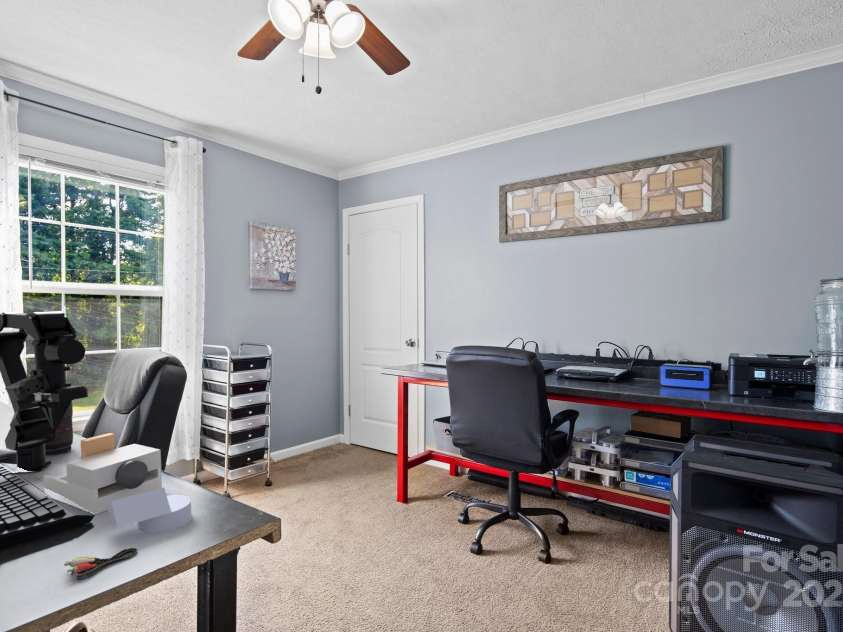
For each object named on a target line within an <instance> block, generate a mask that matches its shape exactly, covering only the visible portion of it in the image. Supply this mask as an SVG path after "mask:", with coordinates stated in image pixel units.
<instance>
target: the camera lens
mask: <svg viewBox="0 0 843 632" xmlns="http://www.w3.org/2000/svg"><path fill="white" fill-rule="evenodd" d="M73 407H74V406H73V401H72V402H71V403H70V405H69V407H68V409H67V411H66V413H65V415H64V417H63V419H62V421H61V423H60V425H59V427H58V428H56V432H55V438H54V442H48V443H45V455H46V457H47V456H49V457H51V456H57V455H61V454H65V453H67V452H70V451H71V450H72V446H73V443H74V442H73V441H74V430H73V429H74V428H73V414H74V412H73Z"/></svg>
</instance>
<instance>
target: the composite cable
mask: <svg viewBox="0 0 843 632" xmlns="http://www.w3.org/2000/svg"><path fill="white" fill-rule="evenodd" d="M137 554H138V549H137V547H129V548H125V549H122V550H121V551H119V552H117V553H115V555H113V556H112V557H108V558H100V557H93V556H92V557H89V556H80V557H75V558H73V559H72V560H70V561H66V562H65V563H64V564H63V566H64V567H67V566H70V569H67V570H66V572H67V573H71V575H76V580H77V581H81V580H85V579H87V578H89V577H91V576H93V575H95V574H96V573H98V572H100V571H101V570H103V569H105V568H107V567H109V566H112V565H114V564H117V563H120V562H123V561H126V560H129V559H132V558H133V557H134V556H136V555H137Z"/></svg>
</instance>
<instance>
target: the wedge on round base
mask: <svg viewBox="0 0 843 632" xmlns="http://www.w3.org/2000/svg"><path fill="white" fill-rule="evenodd" d="M107 512H108V514H109V515H110V517H111V519H112V521H113V522H114V523H113V524H114V525H115V526H116V528H117V529H120V528H123V527H126V526H129V525H133V524H135V523H137V529H138V530H139V532H140V533H145V534H160V533H167V532H171V531H173V530H176V529H179V528H181V527H183V526H184V524H185V525H186V524H188V523H189V522H190V521H191V519H192V517H191V516H192V499H191V497H190V496H188V495H185V494H171V495H170V494H169V495H167V492H166V490H165V487H162V488H160V489H156V490H152V491H148V492H144V493H141V494H137V495H133V496H129V497H125V498H121V499H117V500H113V501H111V504H110V507H109V509H108V510H107ZM190 518H191V519H190ZM189 520H190V521H189ZM188 521H189V522H188ZM187 522H188V523H187ZM182 525H183V526H182ZM178 527H179V528H178Z"/></svg>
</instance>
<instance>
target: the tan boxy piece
mask: <svg viewBox="0 0 843 632" xmlns="http://www.w3.org/2000/svg"><path fill="white" fill-rule="evenodd" d="M115 435H116V434H115V433H111V432H109V433H105V434H99V435H97V436H92V437H88V438H84V439H81V440H80V455H81V456H80V457H81V458H85V457H88V456H92V455H96V454H99V453H103V452H106V451H110V450H113V449H116V436H115ZM81 458H80V459H81ZM116 483H117V482H116ZM113 484H114V483H113ZM110 485H111V484H110ZM107 486H108V485H107ZM104 487H105V486H104ZM101 488H102V487H101ZM98 489H99V488H98Z"/></svg>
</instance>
